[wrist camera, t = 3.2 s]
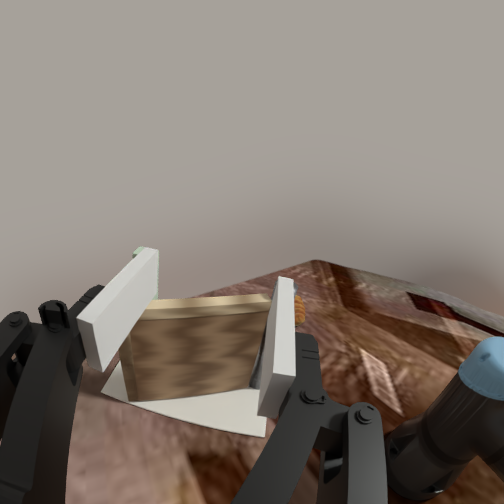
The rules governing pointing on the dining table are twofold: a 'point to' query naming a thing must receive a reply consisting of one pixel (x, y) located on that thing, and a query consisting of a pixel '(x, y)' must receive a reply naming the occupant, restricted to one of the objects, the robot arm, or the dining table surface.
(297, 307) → the pastry
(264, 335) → the hinge post
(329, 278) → the dining table surface
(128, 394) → the gate
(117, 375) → the mat
